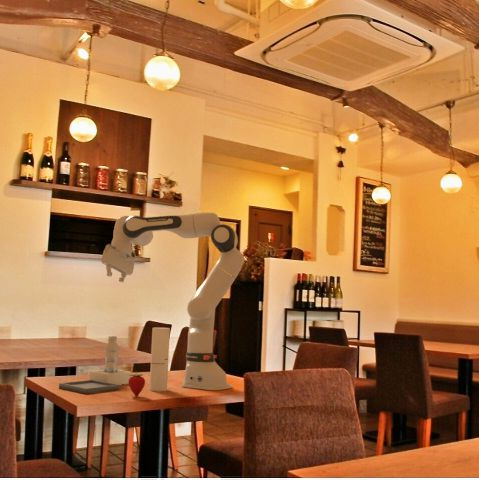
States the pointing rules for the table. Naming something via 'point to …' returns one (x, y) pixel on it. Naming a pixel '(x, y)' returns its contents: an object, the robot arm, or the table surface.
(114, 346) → the plastic bottle
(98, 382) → the grey tray
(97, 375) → the collar holder
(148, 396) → the table surface
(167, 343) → the white toy refrigerator
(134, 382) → the strawberry
